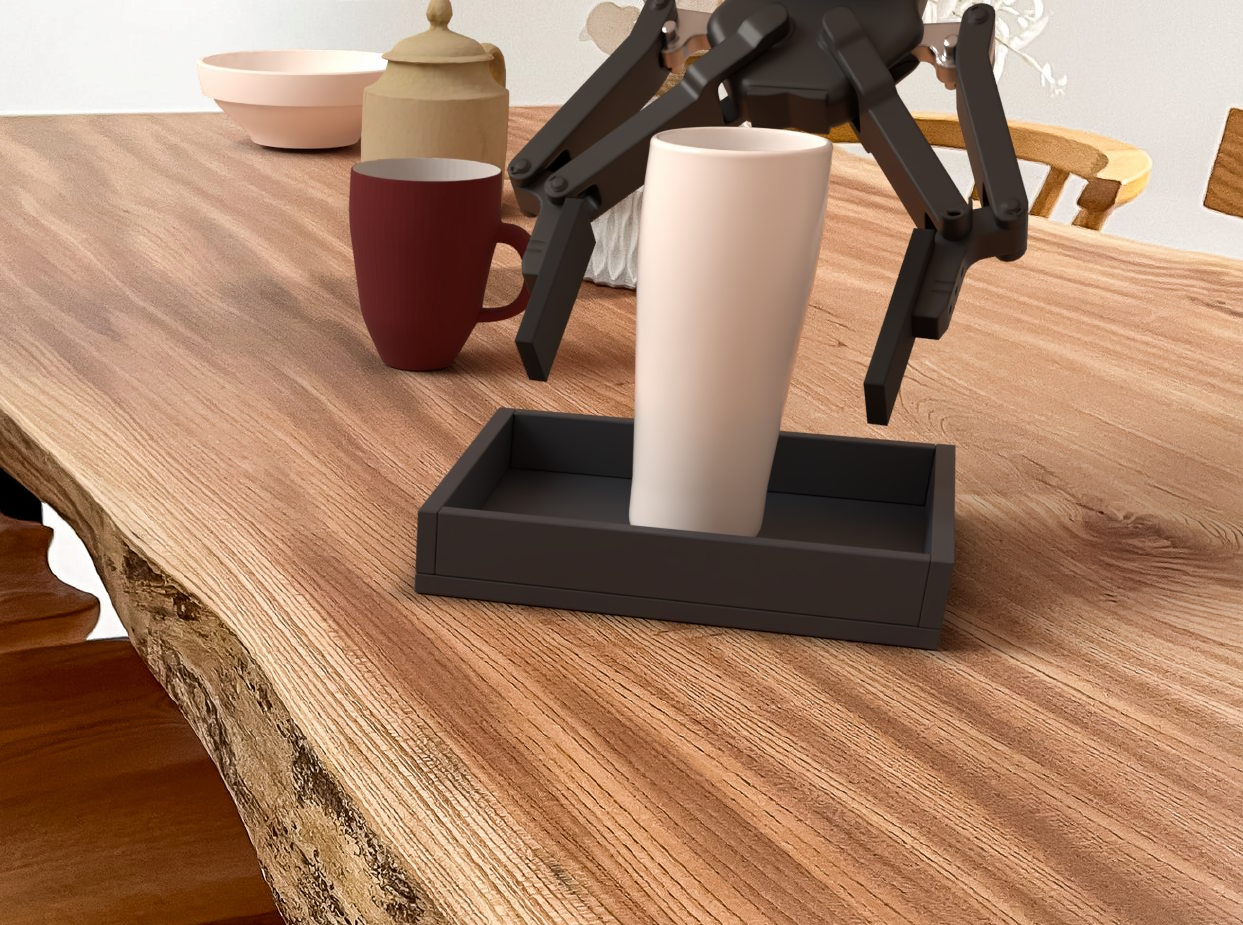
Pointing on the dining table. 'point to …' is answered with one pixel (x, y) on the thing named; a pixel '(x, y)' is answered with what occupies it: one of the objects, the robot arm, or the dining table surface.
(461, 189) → the mug
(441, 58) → the sugar bowl
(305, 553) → the dining table surface
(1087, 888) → the dining table surface
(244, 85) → the bowl
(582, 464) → the tray
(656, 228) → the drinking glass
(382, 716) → the dining table surface
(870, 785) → the dining table surface
